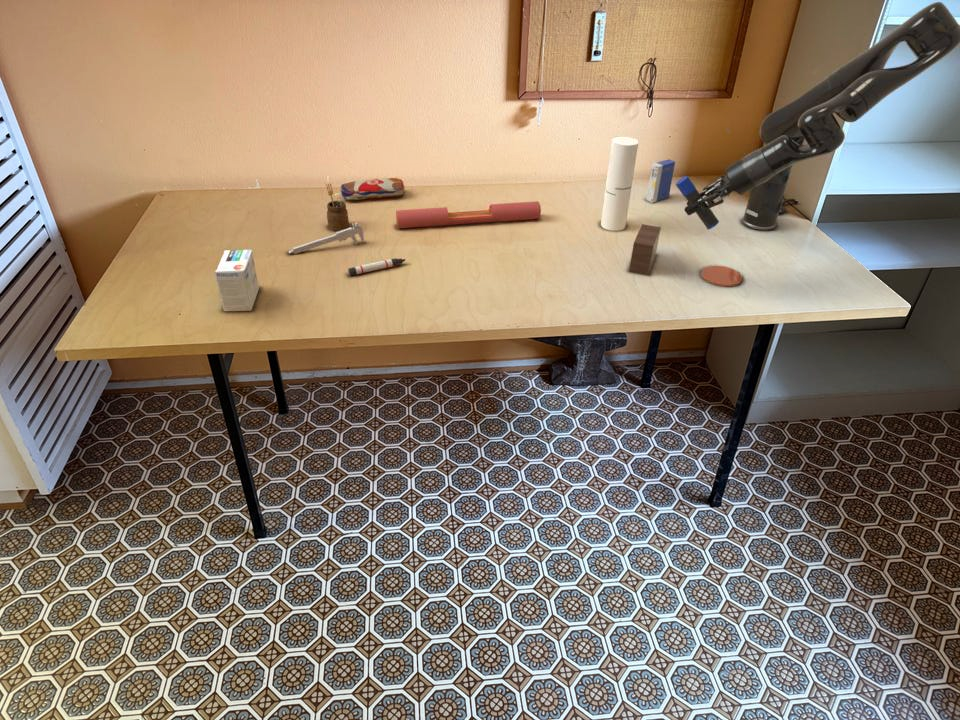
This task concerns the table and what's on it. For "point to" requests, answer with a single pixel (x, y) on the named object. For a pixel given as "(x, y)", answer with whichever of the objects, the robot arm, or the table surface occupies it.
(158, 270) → the table surface
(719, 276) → the coaster
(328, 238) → the caliper
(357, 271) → the marker
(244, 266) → the light bulb box
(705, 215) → the felt marker
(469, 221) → the blood vessel
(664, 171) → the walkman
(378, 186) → the pencil case
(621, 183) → the cylindrical container
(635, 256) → the walnut block
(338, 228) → the utensil holder
